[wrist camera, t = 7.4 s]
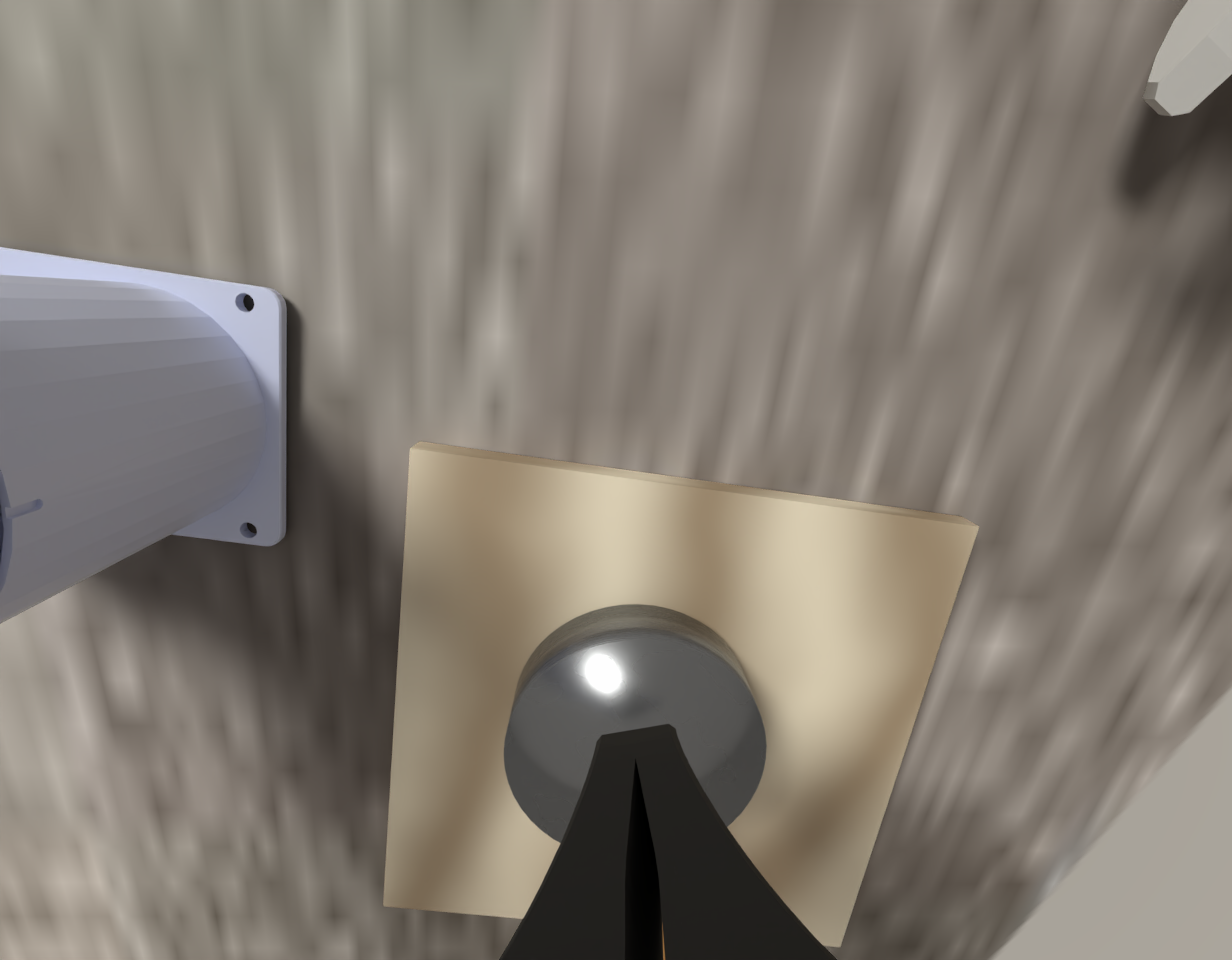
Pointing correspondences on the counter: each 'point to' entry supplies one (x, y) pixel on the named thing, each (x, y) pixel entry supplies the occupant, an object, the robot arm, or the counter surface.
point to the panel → (675, 579)
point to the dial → (630, 708)
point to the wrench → (1192, 58)
